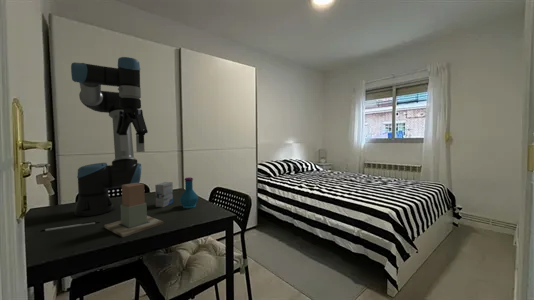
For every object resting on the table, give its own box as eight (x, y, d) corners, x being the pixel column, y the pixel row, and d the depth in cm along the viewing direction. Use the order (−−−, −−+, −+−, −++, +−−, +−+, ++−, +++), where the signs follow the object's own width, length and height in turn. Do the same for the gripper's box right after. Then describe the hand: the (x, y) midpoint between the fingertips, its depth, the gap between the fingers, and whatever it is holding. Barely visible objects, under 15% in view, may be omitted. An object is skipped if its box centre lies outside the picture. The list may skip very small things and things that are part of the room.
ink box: (165, 202, 131) (164, 181, 130) (173, 202, 130) (173, 181, 129) (155, 206, 123) (154, 184, 122) (163, 207, 122) (163, 185, 121)
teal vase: (191, 202, 130) (190, 175, 129) (202, 205, 125) (201, 177, 124) (176, 206, 123) (175, 178, 122) (187, 210, 117) (186, 180, 117)
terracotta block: (122, 204, 96) (121, 185, 95) (137, 201, 101) (136, 182, 100) (129, 206, 92) (128, 186, 92) (144, 203, 97) (144, 184, 97)
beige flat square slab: (104, 227, 95) (103, 224, 95) (143, 216, 108) (143, 214, 108) (122, 237, 86) (122, 234, 86) (163, 223, 99) (163, 221, 99)
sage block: (121, 223, 96) (120, 204, 96) (138, 218, 102) (138, 200, 101) (129, 227, 92) (128, 207, 92) (147, 222, 98) (146, 203, 97)
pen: (99, 223, 100) (99, 221, 100) (39, 232, 91) (39, 229, 90) (99, 223, 101) (99, 220, 101) (39, 231, 91) (39, 229, 91)
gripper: (106, 99, 98) (108, 150, 99) (136, 93, 84) (138, 153, 85) (125, 102, 104) (126, 149, 105) (156, 96, 90) (157, 151, 91)
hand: (131, 151), depth 95 cm, fingers open, 13 cm apart
